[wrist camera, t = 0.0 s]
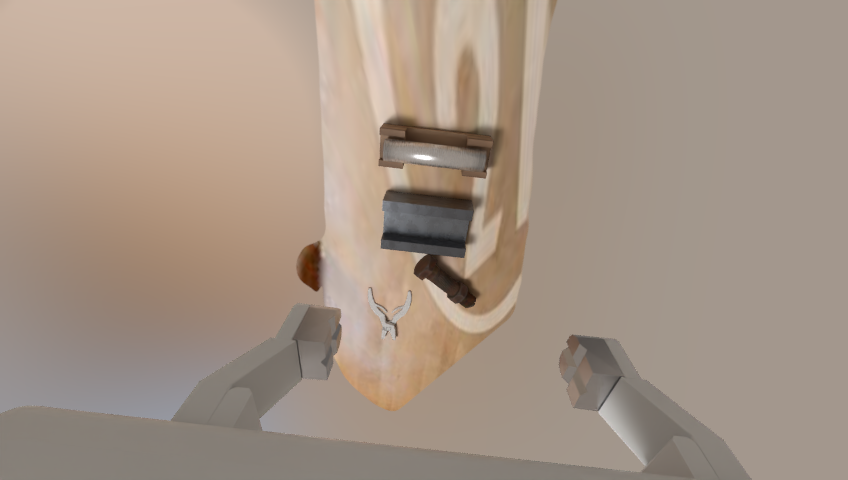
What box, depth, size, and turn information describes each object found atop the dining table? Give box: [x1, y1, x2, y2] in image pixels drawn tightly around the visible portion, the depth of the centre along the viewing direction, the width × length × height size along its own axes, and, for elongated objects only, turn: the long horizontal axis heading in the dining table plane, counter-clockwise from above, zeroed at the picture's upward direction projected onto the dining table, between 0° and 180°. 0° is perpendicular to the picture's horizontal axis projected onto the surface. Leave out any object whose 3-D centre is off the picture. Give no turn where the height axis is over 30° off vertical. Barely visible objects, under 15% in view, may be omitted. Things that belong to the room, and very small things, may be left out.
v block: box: [381, 191, 473, 258], centre depth 61 cm, size 10×16×4 cm, turn 84°
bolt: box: [414, 254, 476, 308], centre depth 69 cm, size 6×5×15 cm
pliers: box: [368, 287, 411, 340], centre depth 76 cm, size 10×2×15 cm
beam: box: [379, 124, 493, 178], centre depth 54 cm, size 6×18×4 cm, turn 84°
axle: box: [383, 138, 486, 172], centre depth 52 cm, size 16×4×4 cm, turn 84°
